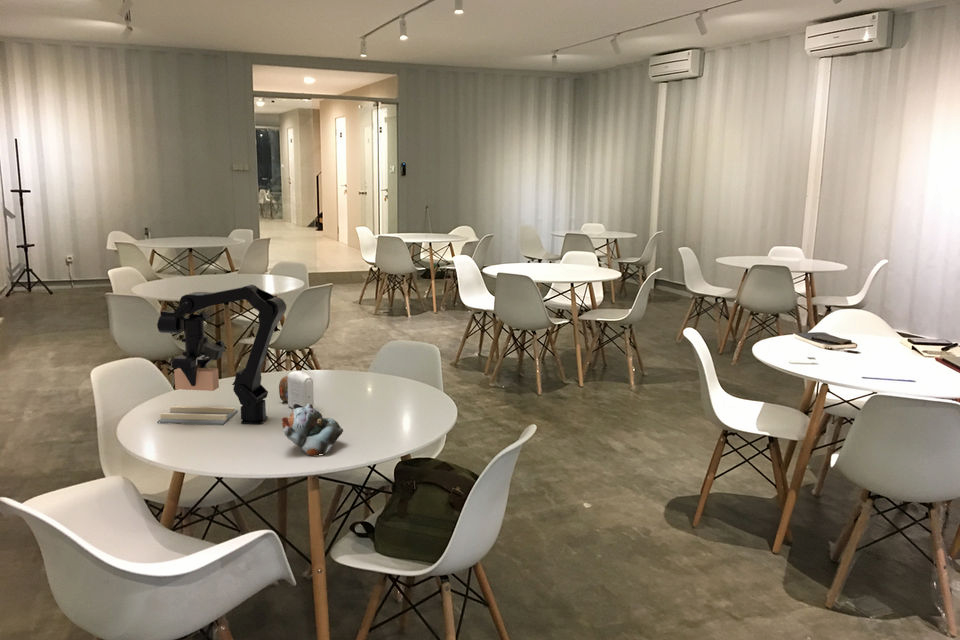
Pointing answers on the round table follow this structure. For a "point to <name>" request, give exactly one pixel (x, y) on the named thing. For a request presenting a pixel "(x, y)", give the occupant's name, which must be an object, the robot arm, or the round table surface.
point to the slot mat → (198, 415)
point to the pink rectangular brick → (198, 379)
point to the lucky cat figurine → (311, 430)
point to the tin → (283, 388)
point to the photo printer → (300, 389)
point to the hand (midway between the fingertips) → (197, 384)
